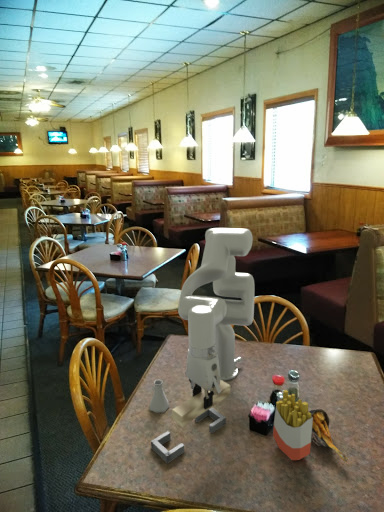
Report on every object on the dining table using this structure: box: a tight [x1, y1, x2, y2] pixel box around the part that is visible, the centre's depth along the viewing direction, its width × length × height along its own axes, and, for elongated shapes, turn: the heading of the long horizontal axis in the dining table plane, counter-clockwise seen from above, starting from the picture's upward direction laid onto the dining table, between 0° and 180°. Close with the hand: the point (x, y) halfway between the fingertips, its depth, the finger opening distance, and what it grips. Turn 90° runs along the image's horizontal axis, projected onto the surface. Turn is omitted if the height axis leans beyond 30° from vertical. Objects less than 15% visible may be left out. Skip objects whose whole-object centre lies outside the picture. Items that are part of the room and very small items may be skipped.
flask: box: [149, 379, 170, 414], centre depth 130 cm, size 7×7×10 cm
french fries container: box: [272, 389, 313, 461], centre depth 108 cm, size 5×11×18 cm, turn 30°
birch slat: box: [172, 380, 231, 428], centre depth 110 cm, size 20×4×4 cm, turn 132°
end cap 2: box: [194, 407, 227, 434], centre depth 123 cm, size 6×8×2 cm
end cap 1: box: [150, 430, 185, 464], centre depth 111 cm, size 6×8×2 cm
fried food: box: [308, 408, 349, 463], centre depth 112 cm, size 9×11×18 cm
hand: (202, 402), depth 110 cm, fingers closed on birch slat, 4 cm apart
